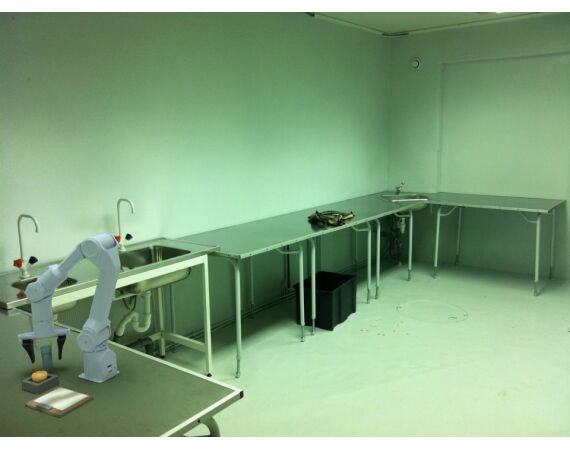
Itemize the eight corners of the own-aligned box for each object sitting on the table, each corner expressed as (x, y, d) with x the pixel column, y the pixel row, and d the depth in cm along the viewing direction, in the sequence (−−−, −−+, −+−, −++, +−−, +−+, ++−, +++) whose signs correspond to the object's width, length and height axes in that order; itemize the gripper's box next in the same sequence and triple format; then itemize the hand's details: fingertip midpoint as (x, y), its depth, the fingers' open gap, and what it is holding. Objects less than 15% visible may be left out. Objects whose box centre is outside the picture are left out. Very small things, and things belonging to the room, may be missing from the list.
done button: (50, 379, 153) (49, 372, 153) (38, 385, 150) (37, 377, 149) (41, 376, 155) (40, 369, 154) (29, 382, 151) (28, 375, 151)
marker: (56, 369, 163) (53, 345, 162) (47, 374, 161) (44, 349, 159) (49, 368, 165) (46, 344, 163) (40, 372, 162) (37, 347, 161)
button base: (59, 383, 154) (58, 375, 153) (38, 394, 148) (37, 386, 147) (43, 379, 157) (42, 371, 157) (22, 389, 151) (21, 381, 151)
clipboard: (93, 398, 144) (93, 394, 144) (60, 417, 135) (59, 413, 135) (59, 388, 151) (58, 384, 151) (24, 405, 141) (24, 401, 141)
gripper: (69, 311, 166) (73, 352, 168) (19, 317, 162) (23, 358, 164) (67, 319, 159) (71, 361, 161) (14, 324, 155) (19, 367, 157)
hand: (46, 360), depth 162 cm, fingers open, 7 cm apart
